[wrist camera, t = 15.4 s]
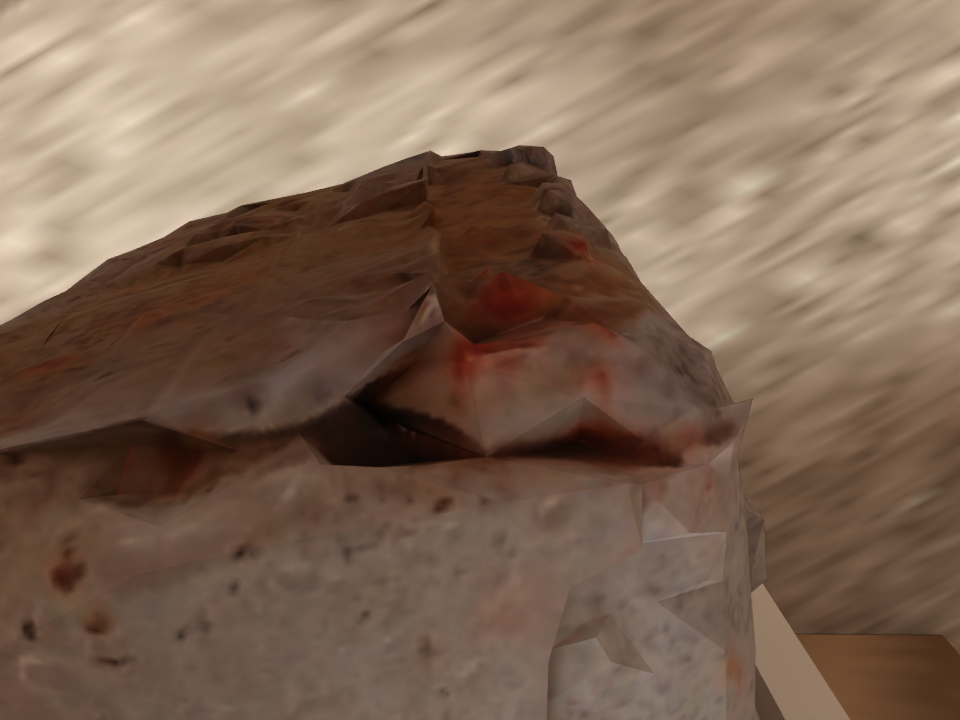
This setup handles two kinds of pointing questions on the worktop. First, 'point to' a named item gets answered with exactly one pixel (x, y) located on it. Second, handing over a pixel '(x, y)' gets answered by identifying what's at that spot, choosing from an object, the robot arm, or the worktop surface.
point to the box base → (889, 675)
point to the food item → (374, 470)
